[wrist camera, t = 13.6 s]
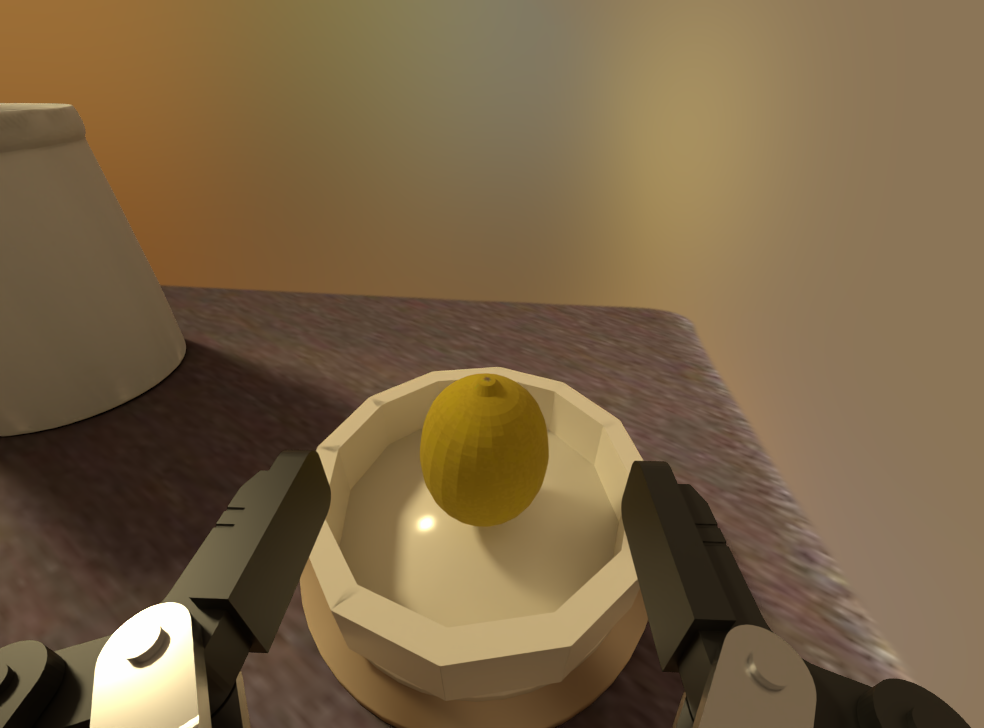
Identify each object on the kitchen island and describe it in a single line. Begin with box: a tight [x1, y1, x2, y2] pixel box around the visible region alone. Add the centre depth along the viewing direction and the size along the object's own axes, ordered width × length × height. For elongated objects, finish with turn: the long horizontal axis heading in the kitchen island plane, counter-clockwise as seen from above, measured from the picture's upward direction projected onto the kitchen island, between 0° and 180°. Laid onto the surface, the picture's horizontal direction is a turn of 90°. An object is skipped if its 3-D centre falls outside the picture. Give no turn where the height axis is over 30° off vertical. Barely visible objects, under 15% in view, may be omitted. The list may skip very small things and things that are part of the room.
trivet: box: [300, 558, 648, 728], centre depth 21 cm, size 17×17×1 cm
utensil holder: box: [0, 103, 186, 436], centre depth 26 cm, size 15×15×18 cm
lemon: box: [420, 373, 549, 527], centre depth 17 cm, size 6×6×8 cm
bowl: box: [309, 367, 643, 702], centre depth 19 cm, size 15×15×4 cm
